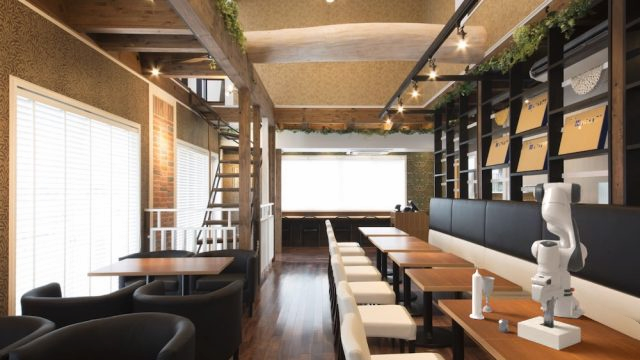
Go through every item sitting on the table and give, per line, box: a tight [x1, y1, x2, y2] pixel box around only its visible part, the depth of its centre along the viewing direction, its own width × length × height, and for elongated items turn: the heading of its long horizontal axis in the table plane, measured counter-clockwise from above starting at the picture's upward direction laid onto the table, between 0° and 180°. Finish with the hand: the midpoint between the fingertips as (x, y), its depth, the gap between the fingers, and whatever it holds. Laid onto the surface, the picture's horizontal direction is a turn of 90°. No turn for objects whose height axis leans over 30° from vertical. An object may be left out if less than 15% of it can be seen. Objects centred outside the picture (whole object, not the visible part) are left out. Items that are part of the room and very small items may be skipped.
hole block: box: [517, 315, 582, 351], centre depth 178 cm, size 18×18×6 cm
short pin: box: [498, 318, 509, 334], centre depth 187 cm, size 4×4×5 cm
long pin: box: [543, 296, 555, 328], centre depth 178 cm, size 4×4×14 cm
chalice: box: [482, 276, 495, 313], centre depth 217 cm, size 7×7×18 cm
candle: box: [469, 268, 485, 320], centre depth 206 cm, size 7×7×25 cm
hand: (548, 309), depth 178 cm, fingers closed on long pin, 4 cm apart
